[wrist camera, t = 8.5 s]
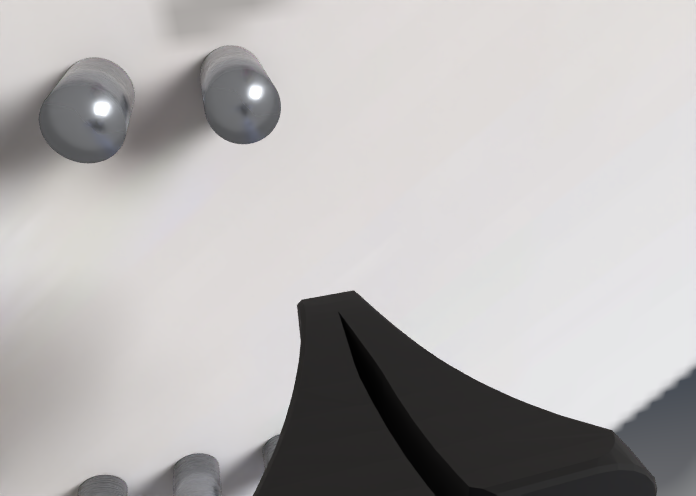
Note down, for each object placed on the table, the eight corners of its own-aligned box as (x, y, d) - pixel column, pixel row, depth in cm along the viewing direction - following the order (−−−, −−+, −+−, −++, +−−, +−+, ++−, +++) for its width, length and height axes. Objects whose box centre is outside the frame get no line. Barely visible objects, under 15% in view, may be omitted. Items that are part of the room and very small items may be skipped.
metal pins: (307, 459, 27) (322, 523, 24) (85, 511, 25) (73, 588, 22) (260, 42, 18) (276, 65, 15) (-101, 74, 16) (-165, 108, 13)
